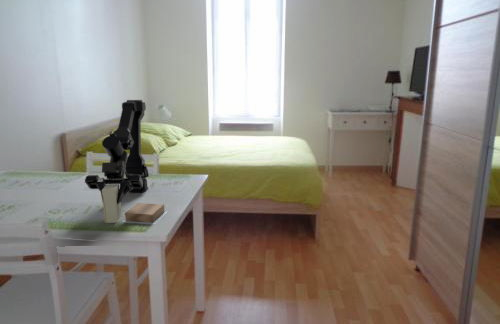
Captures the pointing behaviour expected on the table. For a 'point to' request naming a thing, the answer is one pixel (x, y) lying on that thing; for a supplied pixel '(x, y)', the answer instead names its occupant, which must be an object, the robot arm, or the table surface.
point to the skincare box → (111, 203)
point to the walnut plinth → (144, 213)
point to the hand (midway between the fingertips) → (110, 203)
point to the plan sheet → (147, 223)
